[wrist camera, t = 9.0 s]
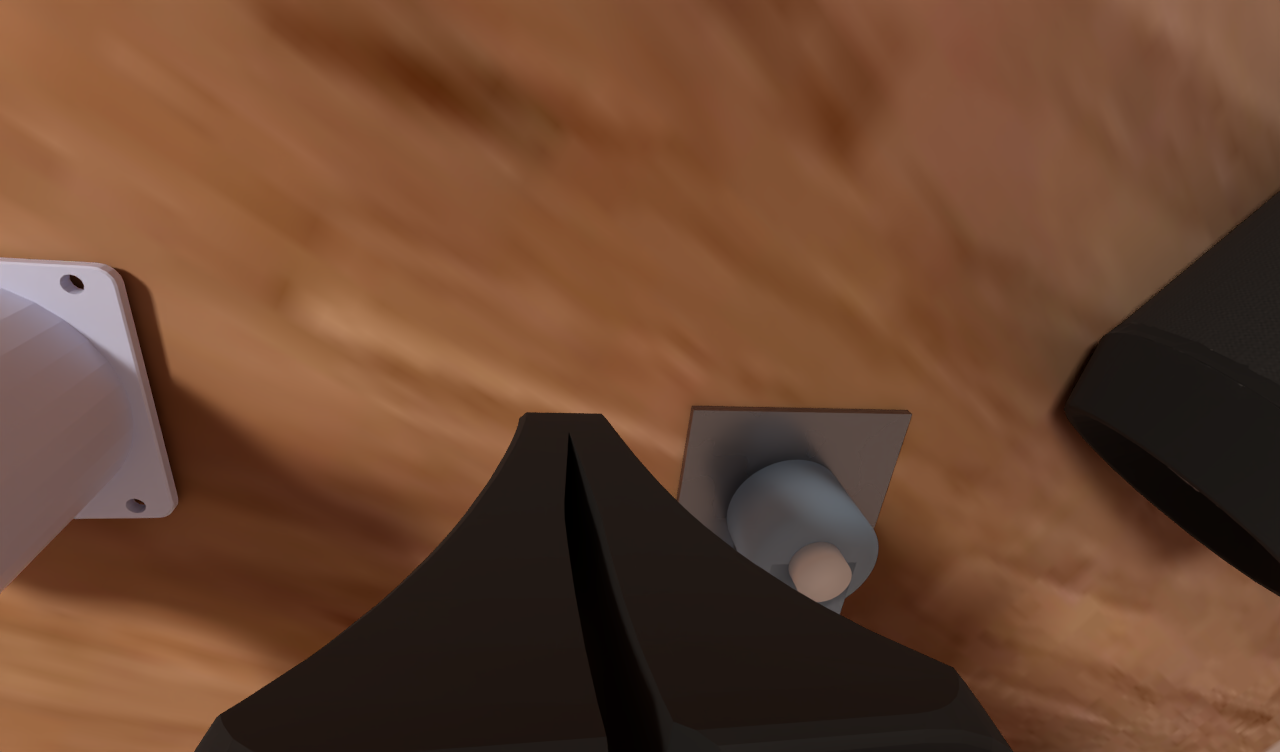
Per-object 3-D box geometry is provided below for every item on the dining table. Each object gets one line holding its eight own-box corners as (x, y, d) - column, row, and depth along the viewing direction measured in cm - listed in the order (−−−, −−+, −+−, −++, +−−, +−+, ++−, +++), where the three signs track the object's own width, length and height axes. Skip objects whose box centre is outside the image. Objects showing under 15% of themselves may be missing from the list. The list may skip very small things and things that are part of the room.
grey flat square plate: (662, 585, 25) (664, 591, 25) (691, 405, 22) (693, 410, 21) (852, 579, 27) (855, 584, 26) (907, 410, 23) (912, 414, 23)
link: (738, 459, 22) (772, 527, 19) (855, 459, 23) (907, 525, 20) (676, 757, 29) (693, 843, 26) (767, 750, 30) (795, 833, 27)
